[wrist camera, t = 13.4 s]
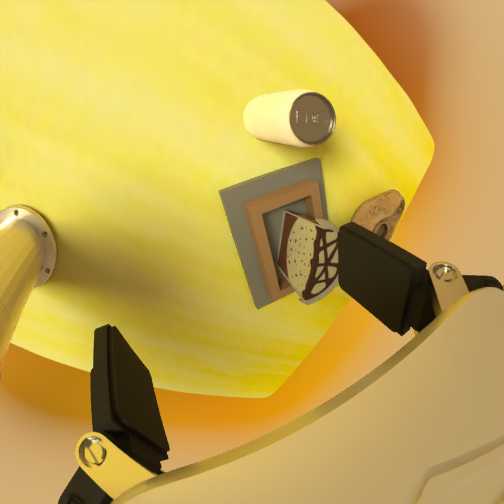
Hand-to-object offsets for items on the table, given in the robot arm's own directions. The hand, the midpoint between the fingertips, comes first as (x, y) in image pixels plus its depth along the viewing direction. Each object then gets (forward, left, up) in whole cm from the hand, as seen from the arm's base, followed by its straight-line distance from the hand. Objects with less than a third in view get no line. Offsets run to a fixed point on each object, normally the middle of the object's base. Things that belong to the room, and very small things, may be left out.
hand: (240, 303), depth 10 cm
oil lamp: (+31, -18, -28) cm, 45 cm away
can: (+14, +3, -28) cm, 31 cm away
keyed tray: (+13, -16, -28) cm, 34 cm away
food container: (+15, -16, -27) cm, 35 cm away
